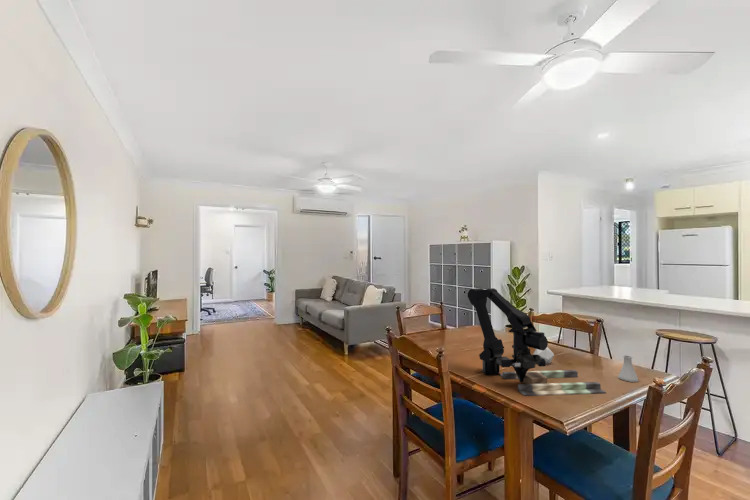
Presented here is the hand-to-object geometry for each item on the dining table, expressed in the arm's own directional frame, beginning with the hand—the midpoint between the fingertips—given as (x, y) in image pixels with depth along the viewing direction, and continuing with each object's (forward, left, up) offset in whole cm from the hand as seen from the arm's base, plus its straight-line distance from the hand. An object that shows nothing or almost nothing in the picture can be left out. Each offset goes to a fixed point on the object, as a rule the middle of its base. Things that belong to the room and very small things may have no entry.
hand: (521, 381), depth 142 cm
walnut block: (+6, 0, -1) cm, 6 cm away
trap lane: (+12, 0, -1) cm, 12 cm away
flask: (+49, +2, -1) cm, 49 cm away
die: (+25, +26, -1) cm, 36 cm away
